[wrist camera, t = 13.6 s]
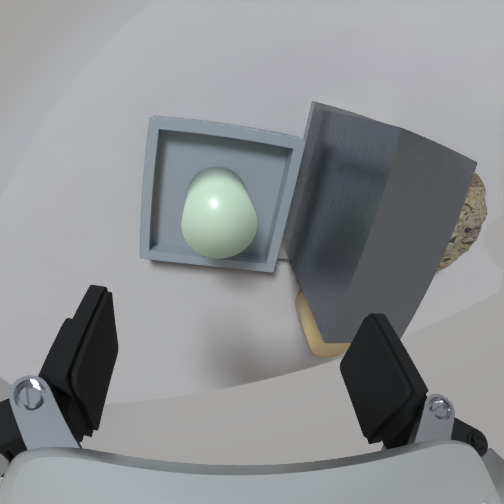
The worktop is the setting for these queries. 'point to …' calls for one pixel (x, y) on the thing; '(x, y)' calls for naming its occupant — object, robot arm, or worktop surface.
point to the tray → (215, 155)
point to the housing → (370, 219)
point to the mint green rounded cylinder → (218, 214)
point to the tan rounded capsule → (316, 331)
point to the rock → (467, 223)
